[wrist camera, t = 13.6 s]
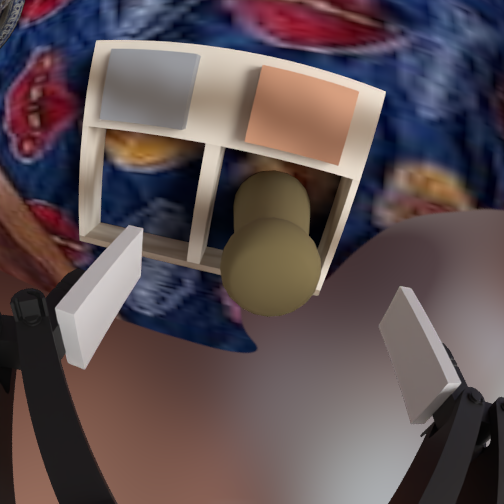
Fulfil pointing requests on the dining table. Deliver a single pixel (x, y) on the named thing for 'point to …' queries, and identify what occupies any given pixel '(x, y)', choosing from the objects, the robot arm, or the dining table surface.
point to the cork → (271, 246)
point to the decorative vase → (9, 17)
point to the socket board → (223, 128)
